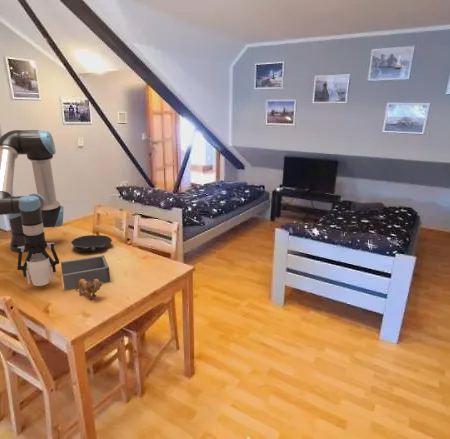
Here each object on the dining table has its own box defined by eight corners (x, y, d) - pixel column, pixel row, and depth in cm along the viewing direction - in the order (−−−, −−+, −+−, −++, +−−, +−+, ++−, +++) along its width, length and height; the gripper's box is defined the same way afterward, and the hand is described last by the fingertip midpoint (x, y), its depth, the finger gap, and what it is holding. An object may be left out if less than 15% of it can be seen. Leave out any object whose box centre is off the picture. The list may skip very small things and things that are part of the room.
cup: (43, 289, 143) (39, 263, 139) (24, 286, 145) (20, 260, 141) (57, 279, 151) (54, 254, 148) (39, 276, 153) (36, 252, 149)
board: (63, 248, 187) (62, 240, 186) (97, 239, 205) (96, 231, 203) (86, 259, 176) (86, 250, 174) (120, 248, 193) (120, 240, 192)
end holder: (61, 275, 158) (59, 262, 156) (105, 268, 167) (103, 255, 165) (62, 290, 146) (61, 275, 144) (110, 281, 155) (109, 267, 153)
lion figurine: (105, 296, 143) (104, 277, 140) (96, 302, 138) (94, 283, 135) (79, 288, 148) (77, 270, 146) (70, 293, 144) (67, 275, 141)
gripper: (3, 239, 133) (12, 289, 140) (62, 232, 142) (68, 279, 149) (4, 233, 139) (13, 281, 146) (61, 226, 148) (67, 272, 156)
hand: (41, 280), depth 148 cm, fingers closed on cup, 9 cm apart
